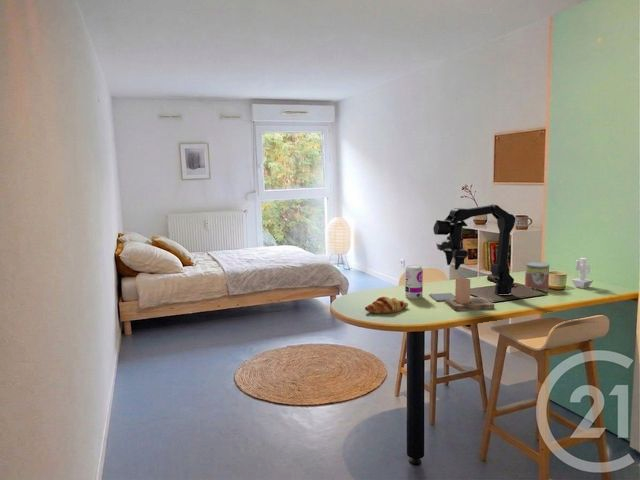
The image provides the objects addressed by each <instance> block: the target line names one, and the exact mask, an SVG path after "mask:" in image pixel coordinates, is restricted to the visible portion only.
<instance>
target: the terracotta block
mask: <svg viewBox="0 0 640 480" xmlns="http://www.w3.org/2000/svg"><path fill="white" fill-rule="evenodd" d="M454 290H455V291H454V292H455V294H454V295H455V302H456V303H457V304H470V298H471V278H466V277H458V278H456V277H455V289H454Z"/></svg>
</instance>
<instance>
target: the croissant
mask: <svg viewBox="0 0 640 480" xmlns="http://www.w3.org/2000/svg"><path fill="white" fill-rule="evenodd" d="M408 307H409V303H408V302H405V301H404V300H402V299H401V300H399V299H397V298H395V297H394V298H390V297H388V296H380V297H378V298H377V299H376V300H375V301H373V302H372V303H371V304H368V305H367V306H364V310H365V312H368V313H373V314H376V313H378V314H377V315H379V313H387V314H393V313H397V312H399V311H402V310H405V309H407V308H408Z"/></svg>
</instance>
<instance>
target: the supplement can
mask: <svg viewBox="0 0 640 480" xmlns="http://www.w3.org/2000/svg"><path fill="white" fill-rule="evenodd" d="M404 269H405V270H404V272H405V273H404V275H405V276H404V277H405V279H404V281H405V283H404V284H405V285H404V287H405V288H404V291H405V297H406V298H408V299H413V300H415V299H421V298H422V296H423V280H424V279H423V275H424V274H423V271H424V270H423V268H422V266H421V265H417V264H416V265H415V264H411V265H407V266H406V267H405V268H404Z"/></svg>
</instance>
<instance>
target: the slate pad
mask: <svg viewBox="0 0 640 480" xmlns="http://www.w3.org/2000/svg"><path fill="white" fill-rule="evenodd" d="M428 295H429V297H430V298H431V299H432V300H434V301H435V302H445V299H451V298H455V294H454V293H452V292H444V293H429V294H428Z"/></svg>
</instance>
